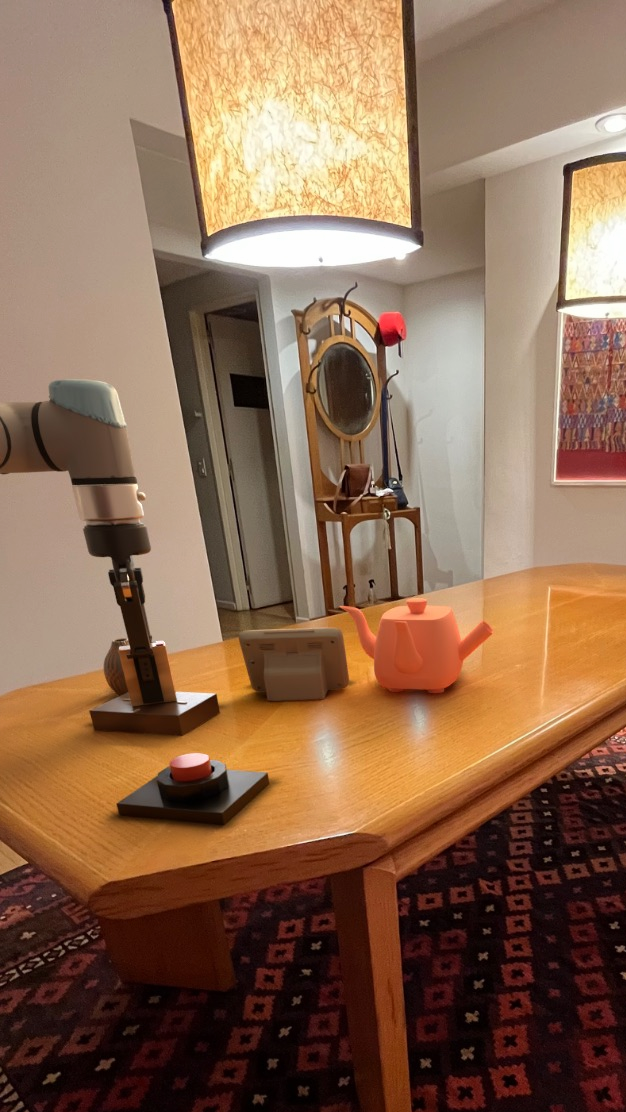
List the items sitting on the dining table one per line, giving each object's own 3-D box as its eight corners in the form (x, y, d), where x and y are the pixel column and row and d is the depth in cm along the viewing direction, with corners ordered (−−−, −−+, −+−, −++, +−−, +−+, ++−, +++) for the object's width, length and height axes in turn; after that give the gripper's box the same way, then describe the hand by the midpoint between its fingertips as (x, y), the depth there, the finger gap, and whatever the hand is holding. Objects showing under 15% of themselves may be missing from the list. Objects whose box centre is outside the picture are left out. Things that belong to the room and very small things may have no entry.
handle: (131, 706, 95) (117, 648, 91) (132, 701, 97) (118, 644, 93) (176, 700, 97) (164, 643, 93) (176, 696, 99) (164, 640, 95)
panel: (93, 730, 95) (88, 709, 94) (138, 708, 104) (134, 688, 103) (182, 736, 92) (177, 714, 91) (220, 712, 101) (216, 692, 100)
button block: (120, 822, 70) (111, 787, 68) (176, 782, 79) (169, 750, 77) (225, 832, 67) (218, 796, 66) (270, 790, 76) (265, 757, 74)
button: (164, 781, 70) (161, 766, 69) (186, 766, 74) (183, 751, 73) (199, 784, 69) (196, 768, 68) (219, 769, 73) (216, 754, 72)
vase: (131, 685, 115) (119, 634, 111) (164, 688, 113) (152, 636, 109) (100, 697, 110) (86, 643, 106) (134, 700, 107) (121, 646, 103)
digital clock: (354, 686, 112) (349, 621, 107) (338, 703, 104) (331, 634, 99) (262, 684, 114) (252, 621, 109) (239, 701, 106) (228, 633, 101)
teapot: (402, 709, 100) (397, 615, 94) (345, 682, 114) (337, 598, 108) (497, 686, 110) (498, 599, 104) (434, 664, 123) (431, 585, 117)
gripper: (144, 524, 81) (183, 710, 91) (145, 517, 94) (179, 681, 104) (75, 527, 79) (123, 718, 89) (86, 520, 92) (127, 687, 102)
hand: (153, 698), depth 97 cm, fingers closed on handle, 2 cm apart
